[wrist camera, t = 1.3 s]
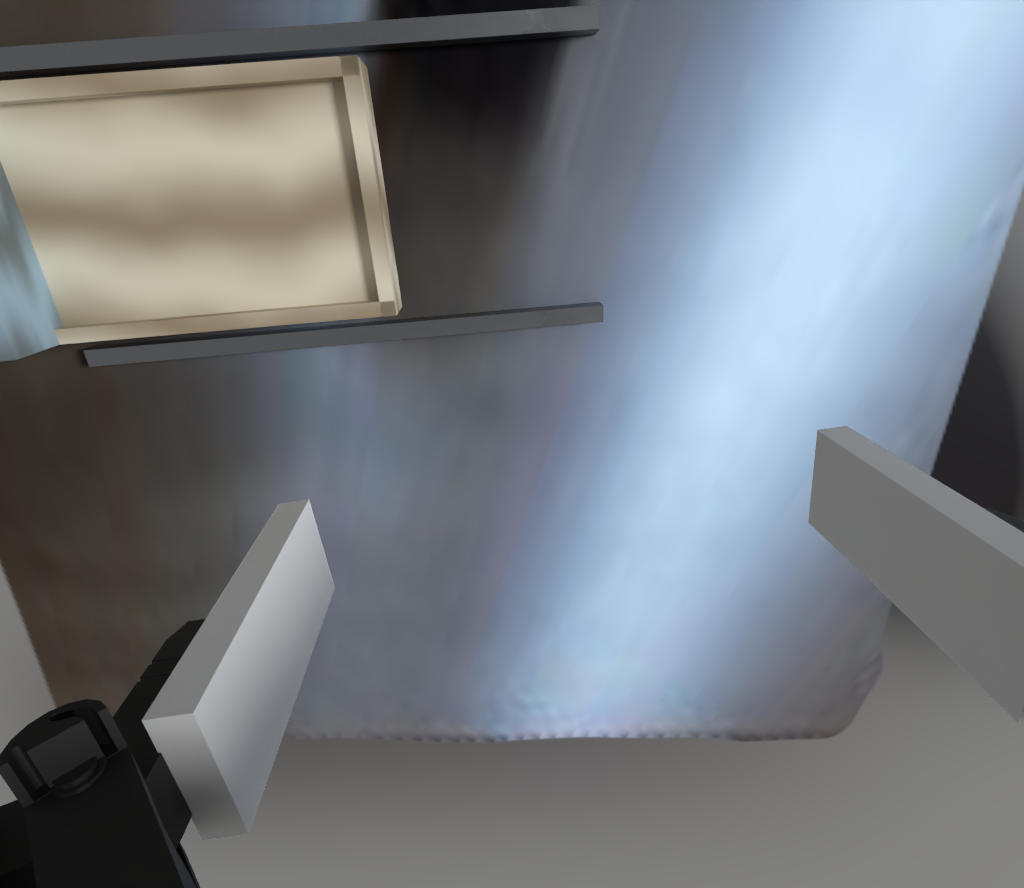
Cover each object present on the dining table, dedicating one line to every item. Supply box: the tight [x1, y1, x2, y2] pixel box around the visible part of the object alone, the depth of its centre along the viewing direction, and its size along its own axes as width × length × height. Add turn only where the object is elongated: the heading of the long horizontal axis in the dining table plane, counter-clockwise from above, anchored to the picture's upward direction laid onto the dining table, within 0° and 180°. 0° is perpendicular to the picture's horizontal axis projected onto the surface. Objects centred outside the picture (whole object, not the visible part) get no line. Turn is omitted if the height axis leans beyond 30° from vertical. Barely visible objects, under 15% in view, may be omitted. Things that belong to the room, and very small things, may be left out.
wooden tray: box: [0, 55, 402, 361], centre depth 29 cm, size 12×19×7 cm, turn 95°
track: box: [0, 5, 603, 367], centre depth 32 cm, size 16×31×1 cm, turn 95°
